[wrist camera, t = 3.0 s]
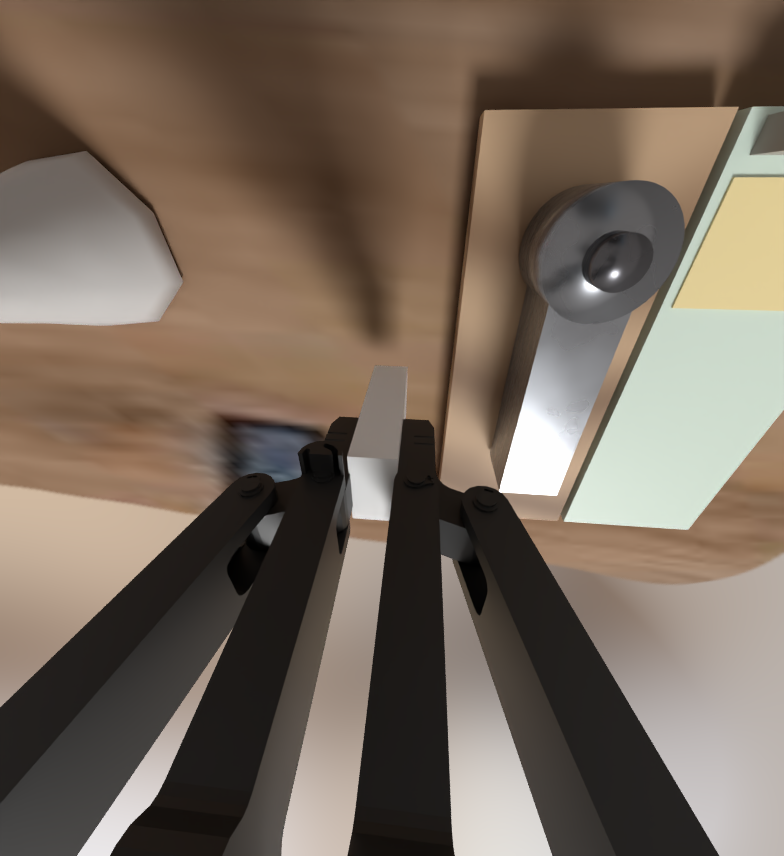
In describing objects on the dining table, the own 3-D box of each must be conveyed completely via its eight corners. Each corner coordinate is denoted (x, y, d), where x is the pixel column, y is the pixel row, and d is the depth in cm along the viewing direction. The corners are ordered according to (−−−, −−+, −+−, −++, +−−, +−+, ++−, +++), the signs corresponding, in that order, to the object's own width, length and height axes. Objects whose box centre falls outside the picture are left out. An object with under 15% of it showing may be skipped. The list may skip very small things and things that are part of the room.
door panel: (724, 114, 11) (799, 93, 9) (974, 111, 11) (1119, 88, 9) (557, 507, 23) (572, 541, 21) (676, 515, 22) (704, 551, 20)
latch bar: (532, 184, 12) (572, 178, 9) (648, 184, 12) (736, 178, 8) (479, 453, 19) (490, 506, 16) (550, 457, 19) (576, 512, 15)
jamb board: (479, 117, 12) (484, 110, 11) (712, 114, 12) (738, 106, 11) (436, 499, 23) (436, 512, 22) (551, 507, 23) (557, 520, 22)
